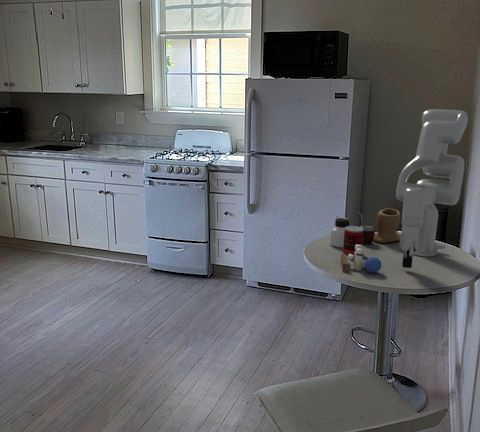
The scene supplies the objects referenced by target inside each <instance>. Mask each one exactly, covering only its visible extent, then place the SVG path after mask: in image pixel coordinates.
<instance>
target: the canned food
mask: <svg viewBox="0 0 480 432" xmlns="http://www.w3.org/2000/svg"><path fill="white" fill-rule="evenodd" d="M362 241H363V228H361V227H360V226H356V225H349V226H347V227H345V231H344V243H343V248H342V254H346V256H348V255H349V254H352V255H355V245H362V246H363V243H362Z"/></svg>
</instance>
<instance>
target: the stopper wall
mask: <svg viewBox="0 0 480 432" xmlns="http://www.w3.org/2000/svg"><path fill="white" fill-rule="evenodd" d="M347 257H348V255H346V254H344V253H341V254H340V265H341V271H342V272H345V273H346V272H347V273H348V272H349V260H348V259H347Z"/></svg>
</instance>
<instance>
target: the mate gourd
mask: <svg viewBox="0 0 480 432" xmlns="http://www.w3.org/2000/svg"><path fill="white" fill-rule="evenodd" d="M356 213H358V214H359V215H360V219H361V223H362V224H361V225H360V226H359V227H361V228H363V241H362V246H365V245H366V244H367V245H374V244H373V241H374V240H373V239H374V235H375V234H376V233H375V232H376V231H375V227H374V225H371V224H364V220H363V219H364V217H363V215H362V214H361V213H360V212H359V211H357V210H356Z"/></svg>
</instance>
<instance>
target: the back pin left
mask: <svg viewBox="0 0 480 432" xmlns="http://www.w3.org/2000/svg"><path fill="white" fill-rule="evenodd" d="M363 252H364V249H363V248H362V249H356V260H355V265H354V270H355V271H362V266H361V265H362V260H363V254H364V253H363Z"/></svg>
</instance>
